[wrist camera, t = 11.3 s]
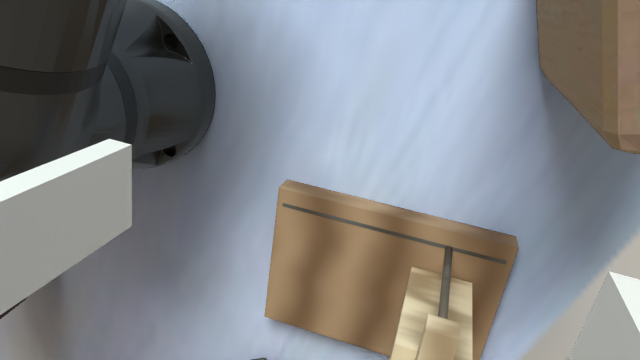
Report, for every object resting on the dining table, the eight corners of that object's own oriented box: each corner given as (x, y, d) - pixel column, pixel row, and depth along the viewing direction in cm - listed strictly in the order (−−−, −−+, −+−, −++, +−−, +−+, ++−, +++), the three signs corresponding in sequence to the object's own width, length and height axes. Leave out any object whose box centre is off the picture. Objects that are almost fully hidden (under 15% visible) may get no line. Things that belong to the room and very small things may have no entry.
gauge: (388, 357, 46) (359, 482, 34) (421, 226, 41) (400, 322, 29) (440, 373, 45) (429, 508, 33) (481, 242, 39) (485, 347, 28)
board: (272, 304, 49) (264, 316, 47) (287, 179, 43) (278, 187, 41) (471, 366, 44) (471, 382, 43) (516, 236, 39) (518, 248, 37)
